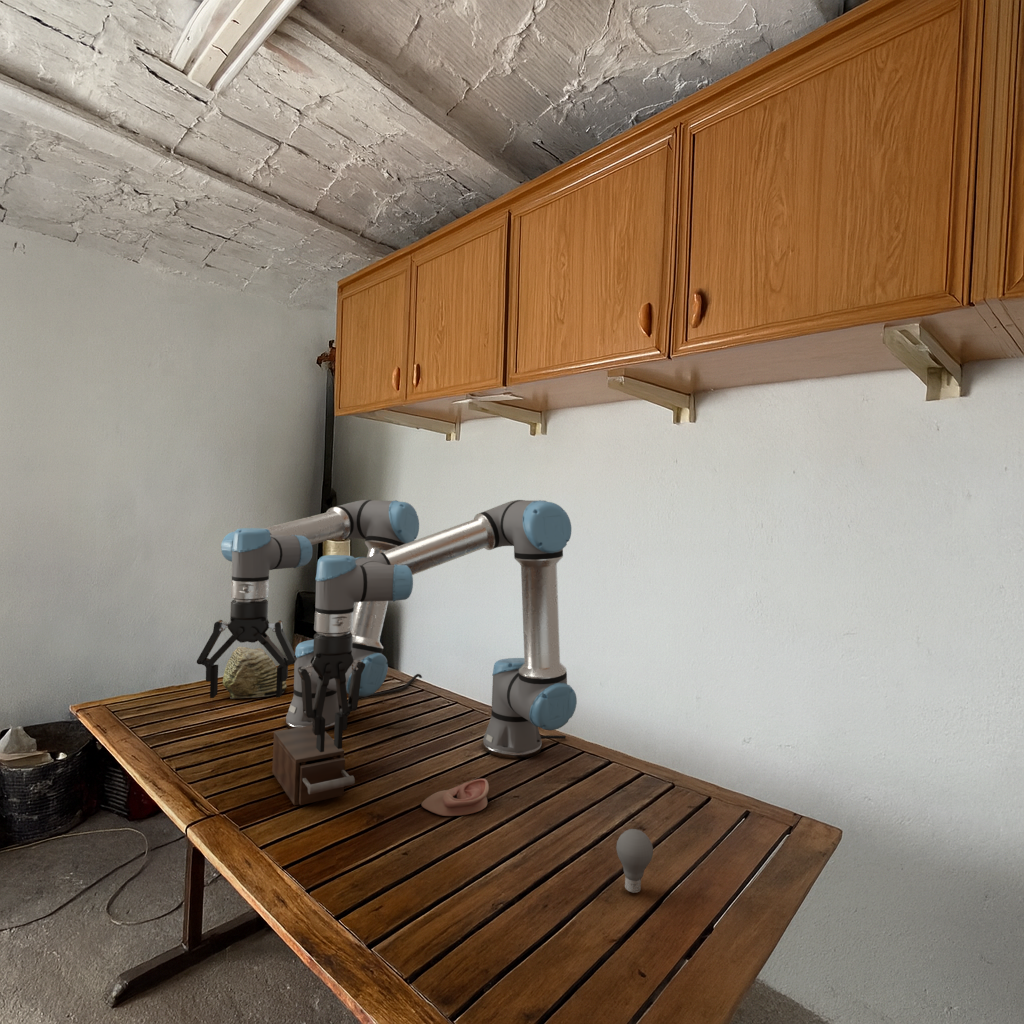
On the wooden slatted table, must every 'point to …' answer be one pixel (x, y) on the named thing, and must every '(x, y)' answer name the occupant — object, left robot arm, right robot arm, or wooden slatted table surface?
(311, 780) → the drawer
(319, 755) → the cabinet
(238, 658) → the fossil
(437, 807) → the anatomical model
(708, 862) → the wooden slatted table surface
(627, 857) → the light bulb
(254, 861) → the wooden slatted table surface
